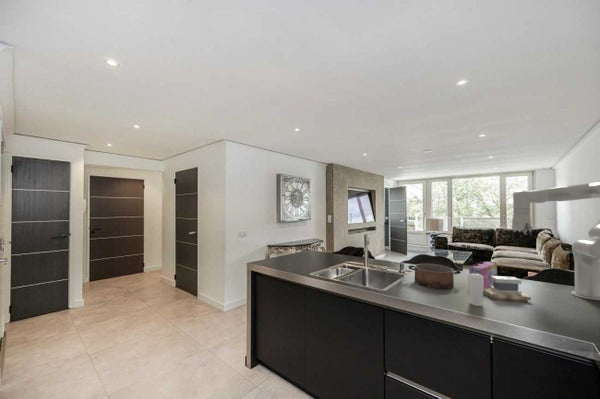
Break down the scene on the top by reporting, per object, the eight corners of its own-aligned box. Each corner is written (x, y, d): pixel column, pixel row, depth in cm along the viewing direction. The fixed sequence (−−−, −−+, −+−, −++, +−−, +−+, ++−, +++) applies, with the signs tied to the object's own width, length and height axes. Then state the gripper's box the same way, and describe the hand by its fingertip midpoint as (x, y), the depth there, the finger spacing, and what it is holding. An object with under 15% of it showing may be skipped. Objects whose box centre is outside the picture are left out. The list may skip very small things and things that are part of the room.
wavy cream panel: (518, 295, 145) (517, 290, 145) (530, 302, 134) (530, 297, 134) (482, 293, 149) (482, 287, 149) (491, 300, 138) (491, 294, 138)
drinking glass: (479, 308, 127) (479, 277, 128) (465, 303, 133) (465, 274, 134) (487, 305, 131) (486, 276, 131) (472, 301, 137) (472, 273, 137)
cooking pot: (456, 282, 170) (456, 265, 171) (464, 292, 150) (464, 274, 150) (408, 277, 182) (408, 262, 182) (408, 286, 161) (408, 269, 161)
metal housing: (490, 289, 145) (490, 275, 146) (514, 291, 143) (514, 277, 143) (496, 293, 140) (495, 278, 140) (521, 295, 137) (521, 280, 137)
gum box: (484, 281, 172) (484, 260, 173) (498, 284, 166) (498, 263, 166) (468, 287, 159) (468, 265, 159) (483, 291, 152) (483, 268, 153)
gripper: (506, 211, 161) (506, 238, 161) (523, 212, 145) (523, 242, 144) (519, 211, 160) (520, 238, 160) (539, 212, 143) (539, 242, 143)
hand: (522, 240), depth 152 cm, fingers open, 9 cm apart
